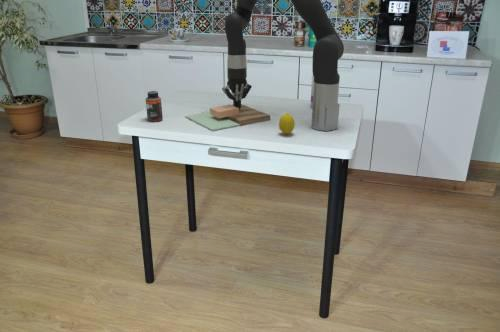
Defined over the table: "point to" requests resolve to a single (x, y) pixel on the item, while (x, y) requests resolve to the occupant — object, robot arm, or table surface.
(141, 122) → the table surface
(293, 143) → the table surface
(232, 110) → the tile
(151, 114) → the supplement bottle
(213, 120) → the mat
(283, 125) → the lemon
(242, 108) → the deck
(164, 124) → the table surface
